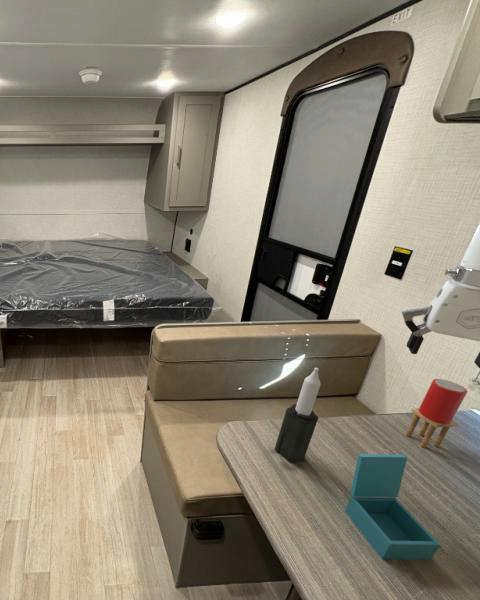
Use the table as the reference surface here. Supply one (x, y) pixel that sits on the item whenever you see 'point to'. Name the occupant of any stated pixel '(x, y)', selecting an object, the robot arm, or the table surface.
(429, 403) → the can
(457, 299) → the robot arm
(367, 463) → the lid
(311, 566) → the table surface
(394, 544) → the teal hinged box
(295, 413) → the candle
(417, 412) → the stool
